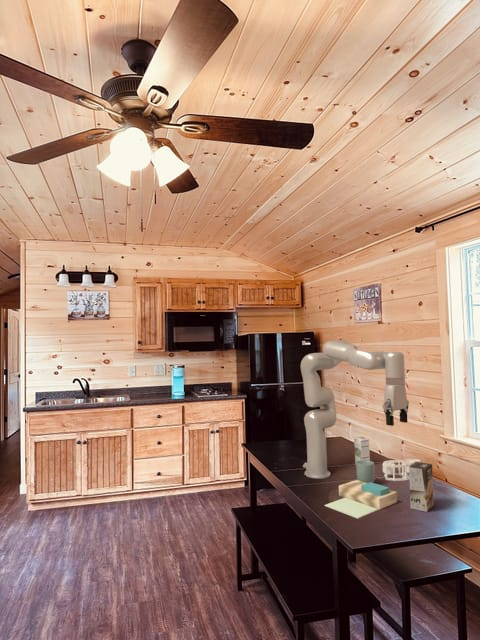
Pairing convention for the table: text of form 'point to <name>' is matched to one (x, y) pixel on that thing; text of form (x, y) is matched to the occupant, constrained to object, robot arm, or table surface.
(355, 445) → the syrup box
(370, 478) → the cup
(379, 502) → the deck
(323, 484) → the table surface
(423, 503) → the coffee box
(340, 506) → the mat
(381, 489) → the teal flat block
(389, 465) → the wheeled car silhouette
